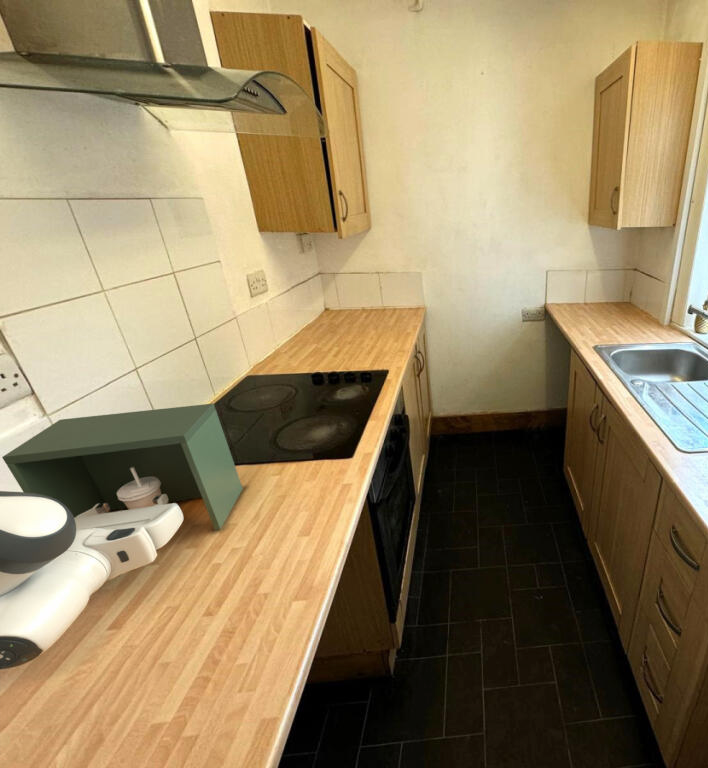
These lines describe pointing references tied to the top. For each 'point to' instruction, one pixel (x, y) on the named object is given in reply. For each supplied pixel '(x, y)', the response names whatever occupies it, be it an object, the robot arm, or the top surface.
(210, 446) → the cupboard
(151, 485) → the smoothie
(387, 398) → the top surface
